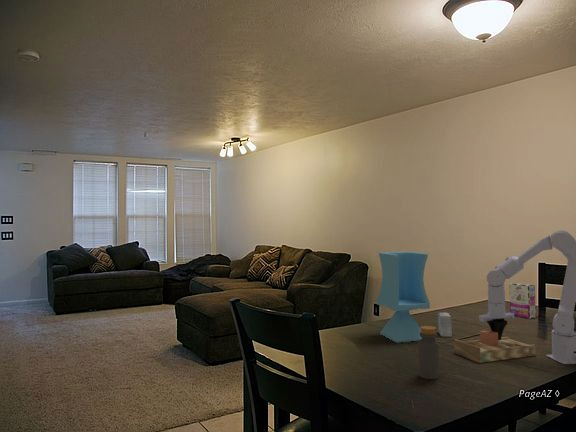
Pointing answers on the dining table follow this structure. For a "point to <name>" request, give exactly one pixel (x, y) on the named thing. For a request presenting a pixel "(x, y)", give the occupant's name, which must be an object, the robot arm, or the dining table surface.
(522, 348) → the trap tray
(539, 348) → the dining table surface
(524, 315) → the candy bar box
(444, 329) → the medicine box
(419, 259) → the blue pedestal chair
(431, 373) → the bottle
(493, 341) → the brick block
